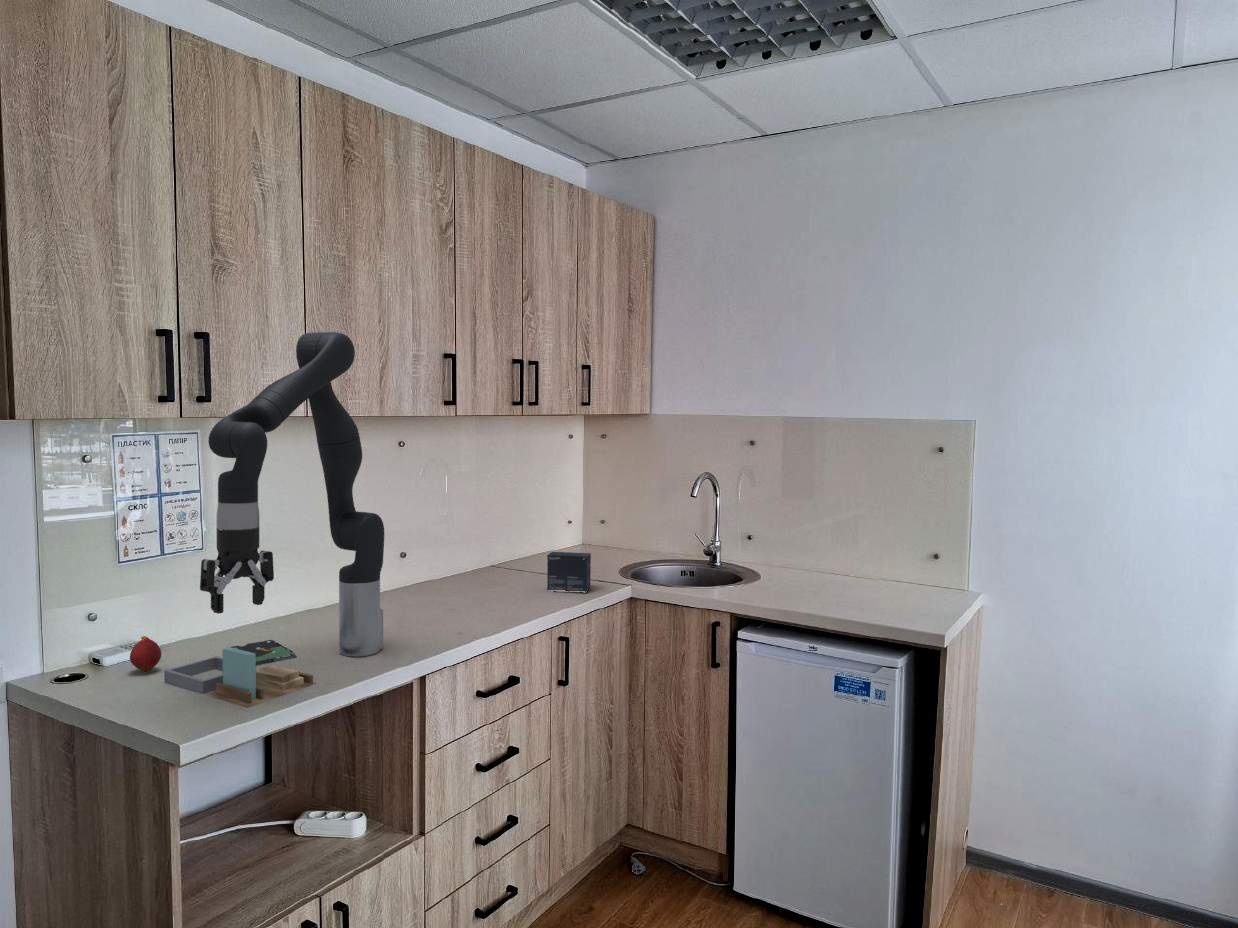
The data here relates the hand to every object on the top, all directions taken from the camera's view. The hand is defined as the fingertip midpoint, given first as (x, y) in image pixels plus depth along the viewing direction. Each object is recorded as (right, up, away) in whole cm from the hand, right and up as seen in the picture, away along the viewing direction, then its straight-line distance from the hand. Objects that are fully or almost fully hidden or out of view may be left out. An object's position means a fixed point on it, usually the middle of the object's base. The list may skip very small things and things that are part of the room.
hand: (238, 608), depth 159 cm
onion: (-28, -17, +18) cm, 38 cm away
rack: (+2, -18, +6) cm, 19 cm away
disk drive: (-8, -17, +28) cm, 34 cm away
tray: (-11, -18, +11) cm, 23 cm away
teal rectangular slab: (0, -17, +1) cm, 17 cm away
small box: (+58, -13, +104) cm, 120 cm away
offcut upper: (+4, -16, +9) cm, 18 cm away
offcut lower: (+4, -17, +9) cm, 20 cm away
